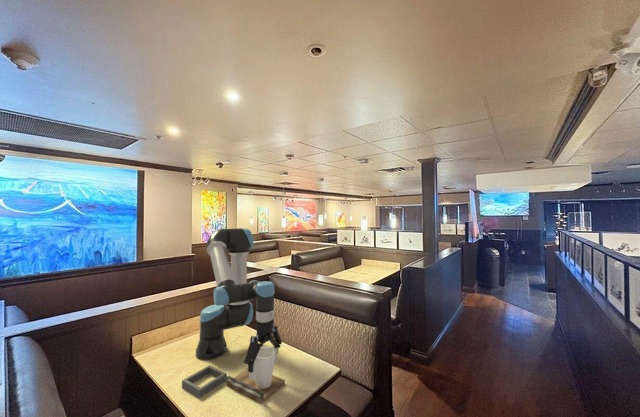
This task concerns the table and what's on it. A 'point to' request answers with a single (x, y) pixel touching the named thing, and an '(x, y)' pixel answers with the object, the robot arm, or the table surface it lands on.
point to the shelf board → (253, 386)
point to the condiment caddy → (200, 392)
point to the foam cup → (264, 367)
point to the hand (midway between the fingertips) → (263, 370)
